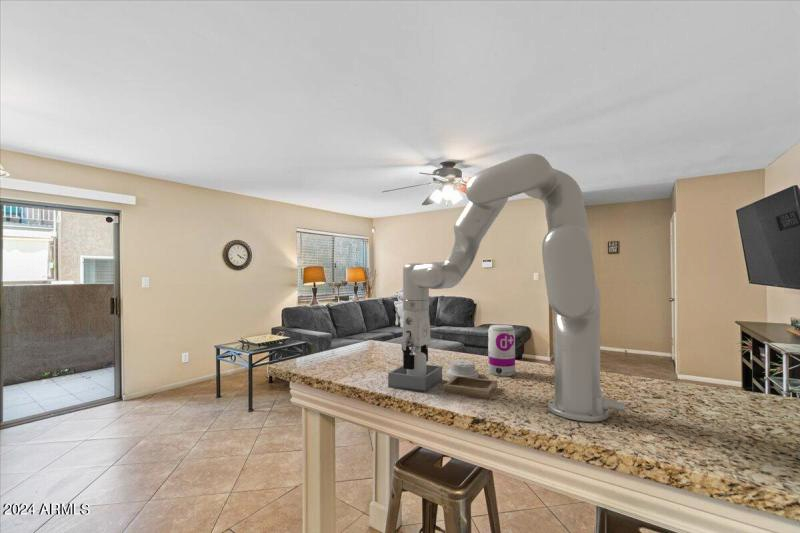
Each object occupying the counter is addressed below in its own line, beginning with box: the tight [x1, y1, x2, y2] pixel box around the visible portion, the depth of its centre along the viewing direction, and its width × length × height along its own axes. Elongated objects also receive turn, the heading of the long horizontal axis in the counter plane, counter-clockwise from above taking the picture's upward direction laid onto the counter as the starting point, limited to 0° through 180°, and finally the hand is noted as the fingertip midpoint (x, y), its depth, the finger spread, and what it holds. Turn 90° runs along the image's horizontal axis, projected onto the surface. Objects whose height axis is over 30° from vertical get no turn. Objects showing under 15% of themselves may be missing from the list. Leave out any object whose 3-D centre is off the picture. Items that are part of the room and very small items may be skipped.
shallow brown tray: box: [443, 376, 498, 400], centre depth 99 cm, size 12×10×2 cm
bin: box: [387, 364, 443, 393], centre depth 105 cm, size 11×13×4 cm
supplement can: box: [487, 324, 516, 377], centre depth 116 cm, size 8×8×15 cm
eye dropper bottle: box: [407, 346, 427, 377], centre depth 105 cm, size 4×6×12 cm
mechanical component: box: [445, 359, 480, 379], centre depth 113 cm, size 10×4×10 cm
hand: (416, 364), depth 105 cm, fingers open, 9 cm apart
